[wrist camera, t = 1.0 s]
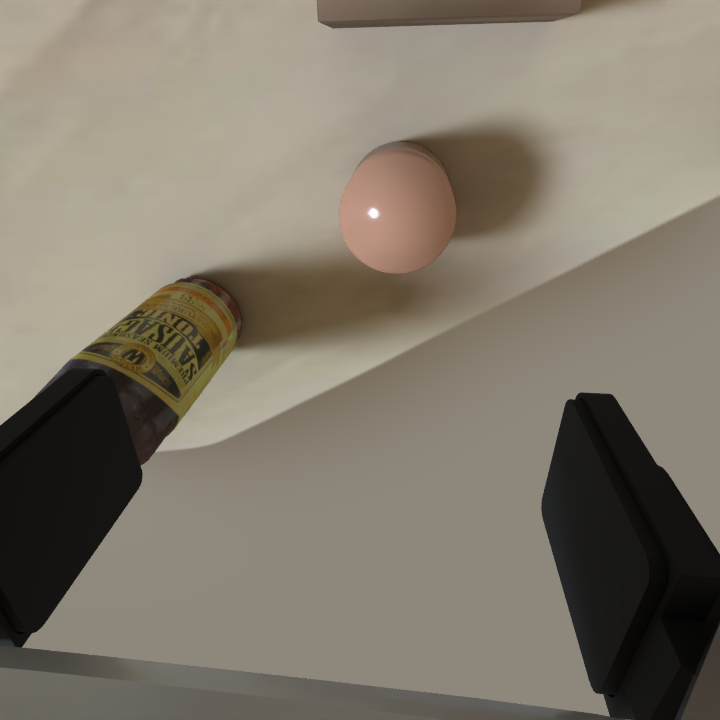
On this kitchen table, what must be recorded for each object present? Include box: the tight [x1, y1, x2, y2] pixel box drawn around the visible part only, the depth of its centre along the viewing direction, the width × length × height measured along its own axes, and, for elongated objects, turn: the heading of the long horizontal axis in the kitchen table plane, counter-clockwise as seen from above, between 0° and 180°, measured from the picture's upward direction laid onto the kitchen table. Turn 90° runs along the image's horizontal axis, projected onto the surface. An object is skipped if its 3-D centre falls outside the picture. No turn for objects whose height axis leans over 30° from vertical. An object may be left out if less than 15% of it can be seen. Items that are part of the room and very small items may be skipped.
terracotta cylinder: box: [339, 141, 456, 274], centre depth 27 cm, size 6×6×5 cm
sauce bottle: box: [33, 278, 242, 465], centre depth 26 cm, size 7×6×20 cm
